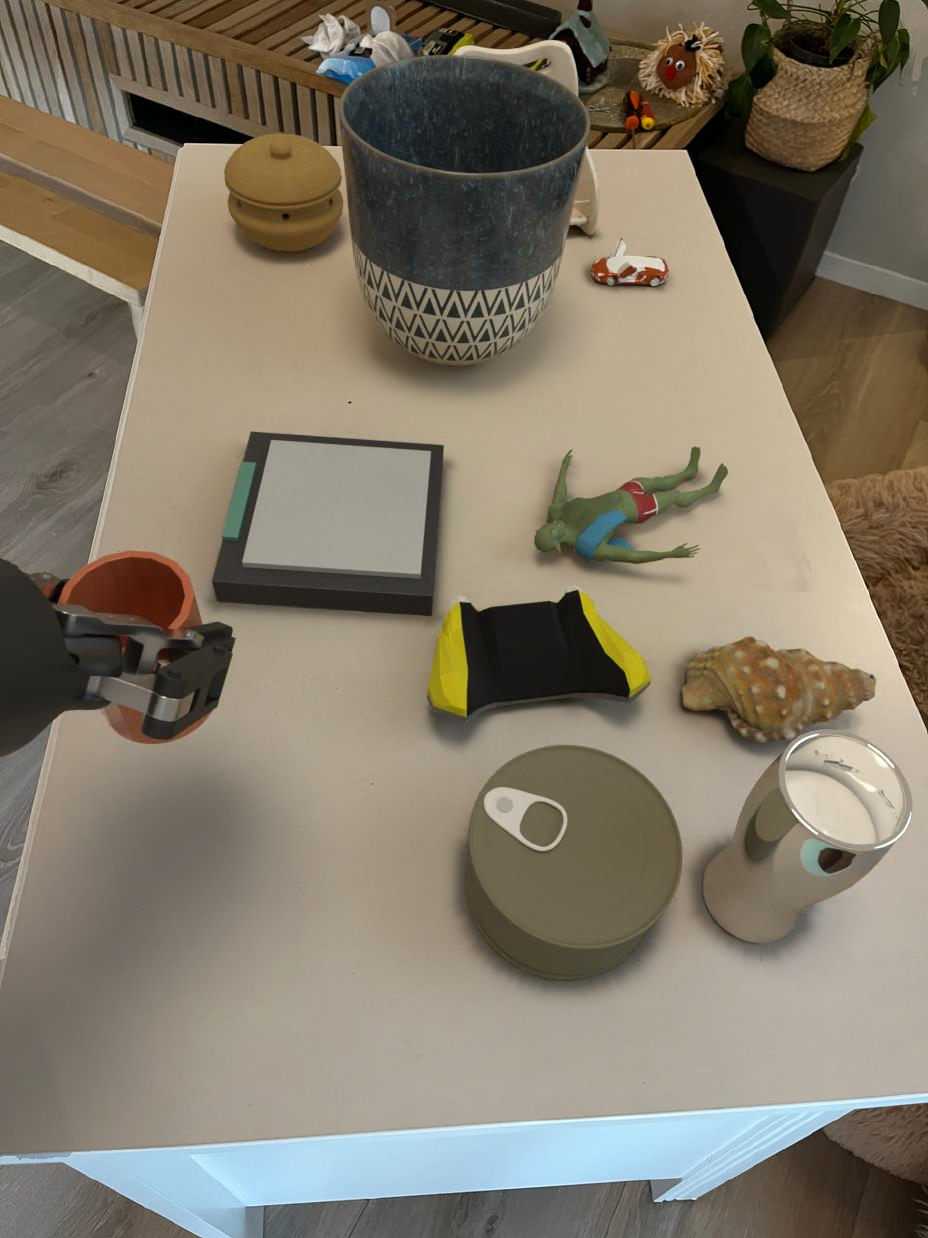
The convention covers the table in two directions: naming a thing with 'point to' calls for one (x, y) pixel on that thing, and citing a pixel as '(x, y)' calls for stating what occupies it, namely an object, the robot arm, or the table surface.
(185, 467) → the table surface
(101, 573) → the cup
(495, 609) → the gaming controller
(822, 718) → the seashell
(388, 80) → the planter
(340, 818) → the table surface
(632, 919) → the can
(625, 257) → the toy car
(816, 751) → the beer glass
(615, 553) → the figurine
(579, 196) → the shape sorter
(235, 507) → the scale
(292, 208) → the pot
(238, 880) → the table surface
